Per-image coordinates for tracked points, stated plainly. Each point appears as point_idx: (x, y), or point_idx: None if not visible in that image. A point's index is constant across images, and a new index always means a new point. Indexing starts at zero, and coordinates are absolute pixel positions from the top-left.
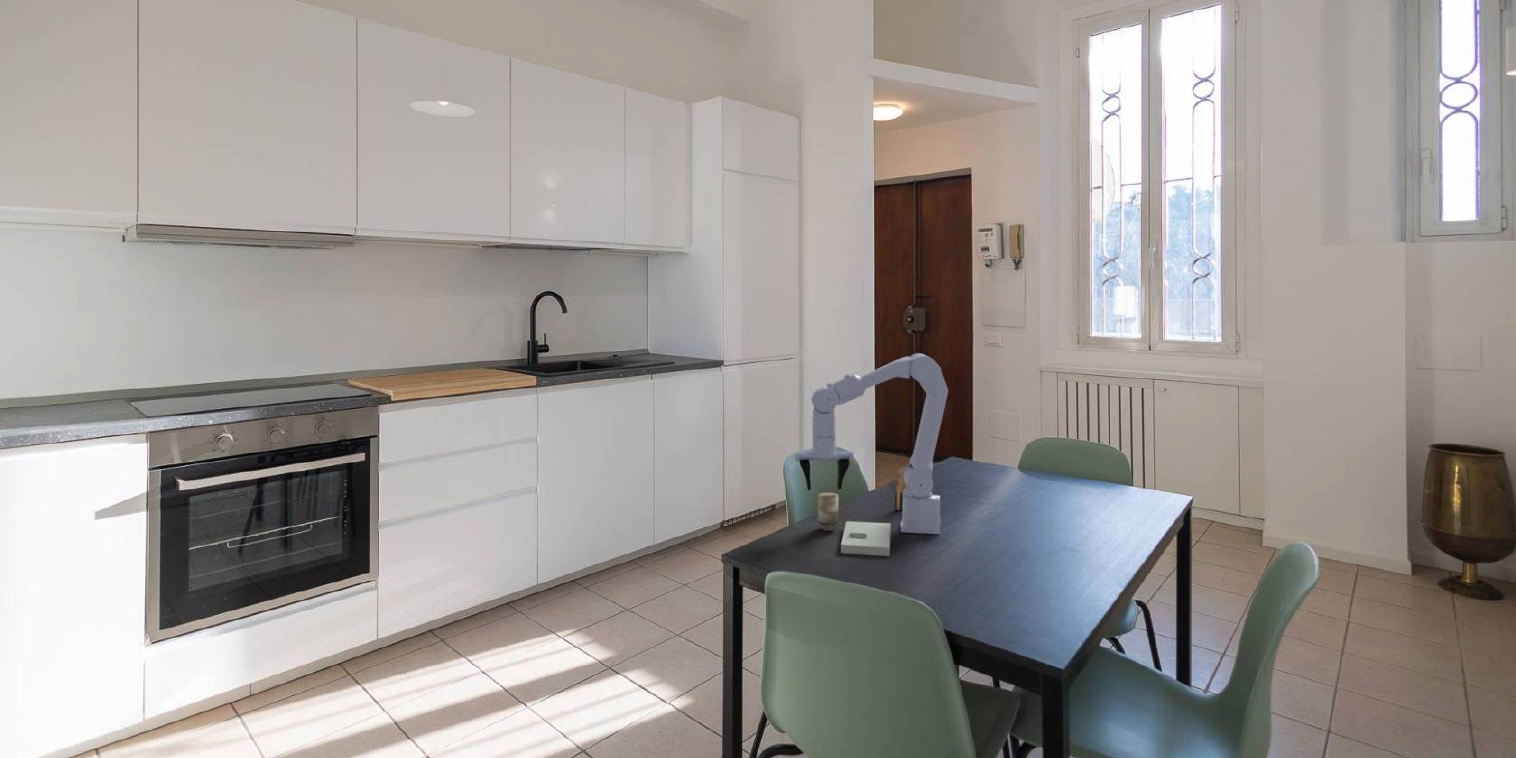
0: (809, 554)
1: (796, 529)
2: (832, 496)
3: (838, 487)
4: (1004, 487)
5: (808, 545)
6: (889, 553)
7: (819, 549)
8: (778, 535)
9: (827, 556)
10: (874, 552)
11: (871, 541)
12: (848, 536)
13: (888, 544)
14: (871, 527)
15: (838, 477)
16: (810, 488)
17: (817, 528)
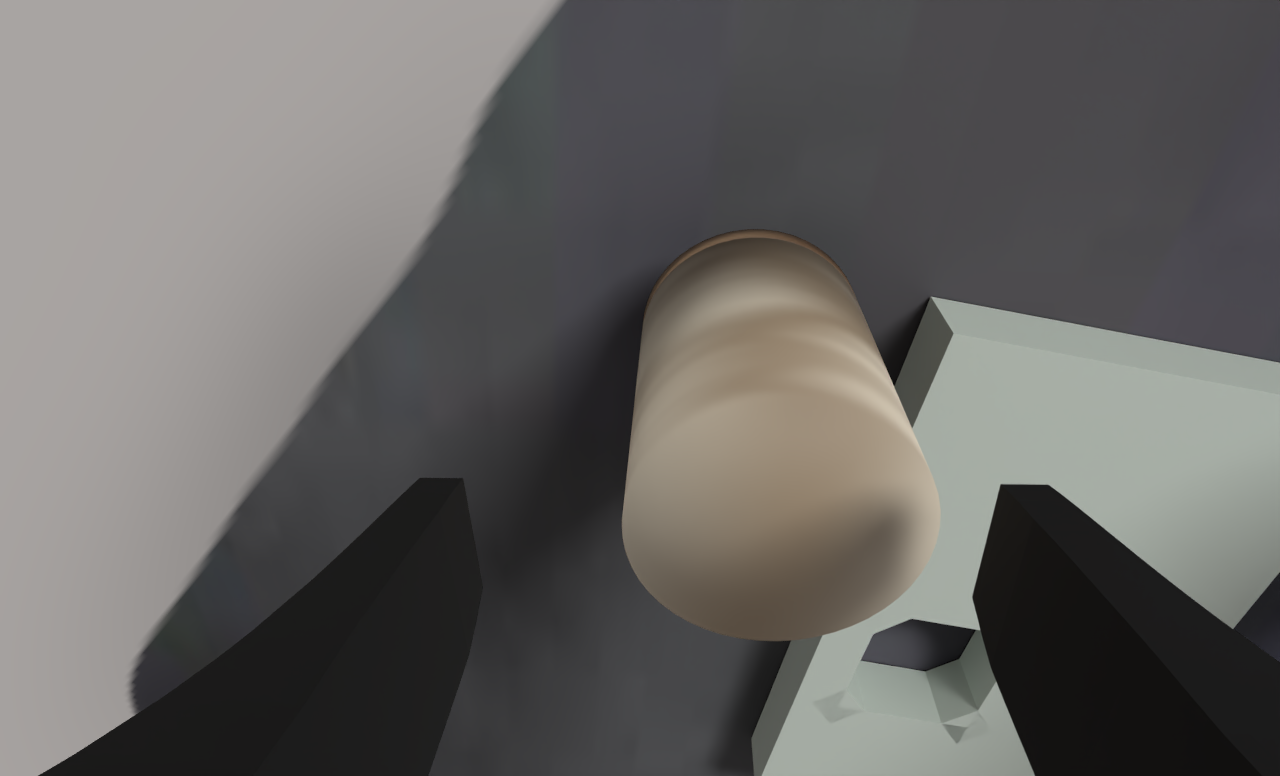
0: (555, 740)
1: (433, 290)
2: (830, 583)
3: (981, 632)
4: None
5: (549, 624)
6: None
7: (621, 683)
8: (296, 435)
9: (661, 767)
10: None
11: (985, 762)
12: (848, 680)
13: None
14: (1134, 514)
15: (1087, 716)
16: (474, 611)
17: (641, 267)
